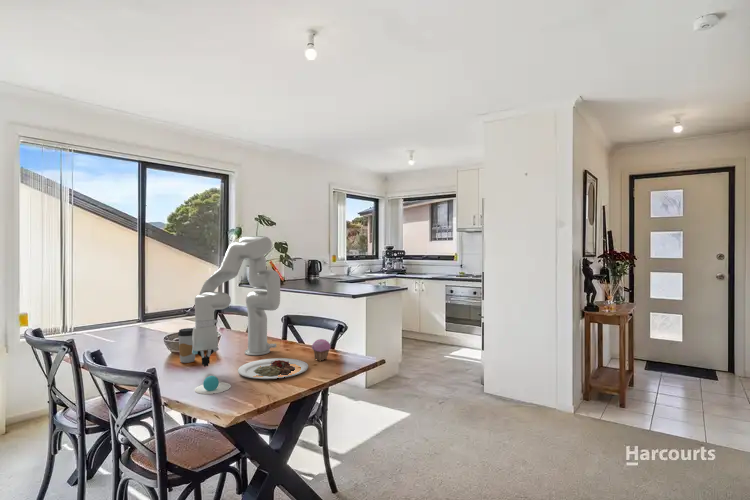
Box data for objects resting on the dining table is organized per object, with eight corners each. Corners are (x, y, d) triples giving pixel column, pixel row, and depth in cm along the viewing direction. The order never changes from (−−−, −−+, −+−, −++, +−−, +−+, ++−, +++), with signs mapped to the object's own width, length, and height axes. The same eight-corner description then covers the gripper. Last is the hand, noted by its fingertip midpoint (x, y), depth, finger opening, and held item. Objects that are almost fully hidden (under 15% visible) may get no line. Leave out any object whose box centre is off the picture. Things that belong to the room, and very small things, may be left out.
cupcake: (322, 356, 208) (323, 336, 208) (334, 360, 202) (334, 339, 202) (308, 360, 202) (308, 339, 202) (319, 363, 196) (319, 342, 196)
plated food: (236, 385, 166) (236, 376, 166) (239, 364, 195) (239, 357, 195) (312, 379, 174) (312, 371, 174) (304, 360, 203) (304, 353, 203)
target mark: (227, 380, 170) (227, 380, 170) (234, 390, 159) (234, 389, 159) (192, 386, 164) (192, 385, 164) (197, 396, 152) (197, 395, 152)
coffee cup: (200, 359, 203) (200, 328, 203) (191, 363, 194) (191, 331, 194) (184, 358, 204) (184, 327, 203) (174, 363, 195) (174, 331, 195)
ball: (219, 379, 157) (219, 392, 158) (218, 372, 162) (217, 385, 163) (203, 380, 154) (203, 394, 155) (202, 374, 159) (202, 387, 160)
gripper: (221, 320, 187) (222, 360, 188) (184, 323, 180) (185, 366, 181) (224, 323, 181) (225, 365, 182) (186, 327, 173) (187, 371, 174)
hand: (205, 365), depth 181 cm, fingers closed
